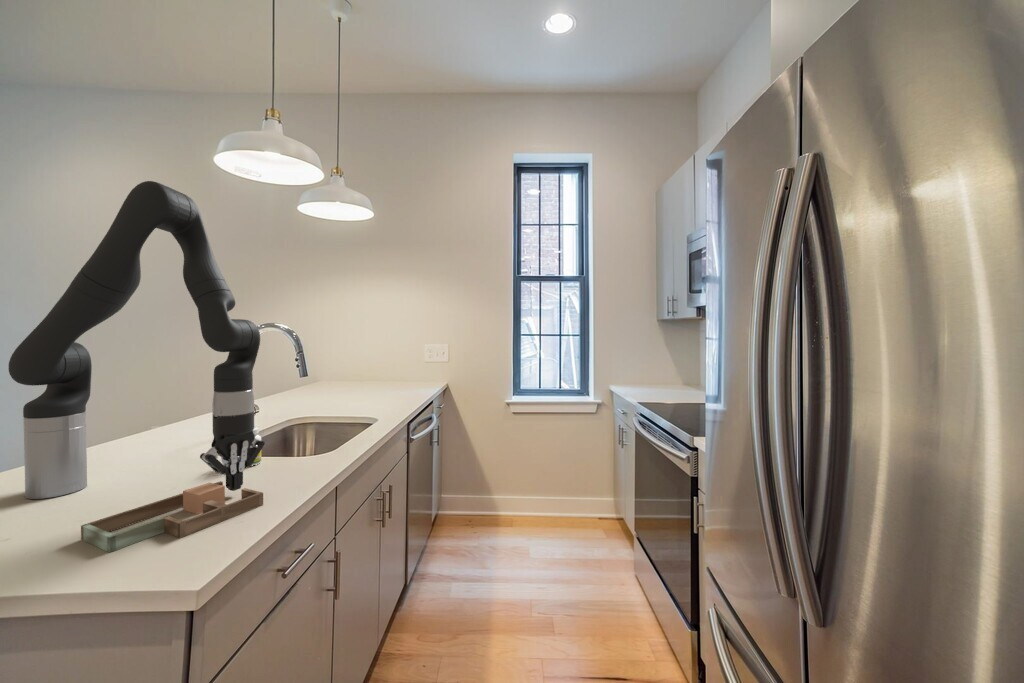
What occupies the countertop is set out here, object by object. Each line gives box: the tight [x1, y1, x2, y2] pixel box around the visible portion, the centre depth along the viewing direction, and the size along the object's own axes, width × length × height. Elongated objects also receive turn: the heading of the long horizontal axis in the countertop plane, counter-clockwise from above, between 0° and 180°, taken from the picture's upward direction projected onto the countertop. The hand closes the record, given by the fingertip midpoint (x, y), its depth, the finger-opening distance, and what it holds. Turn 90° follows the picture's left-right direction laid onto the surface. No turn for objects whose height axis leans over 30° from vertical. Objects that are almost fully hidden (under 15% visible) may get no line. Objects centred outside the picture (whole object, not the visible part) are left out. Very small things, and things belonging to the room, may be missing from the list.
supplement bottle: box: [251, 426, 262, 467], centre depth 110 cm, size 5×5×10 cm
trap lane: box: [80, 480, 264, 553], centre depth 78 cm, size 15×23×2 cm, turn 156°
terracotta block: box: [182, 482, 226, 515], centre depth 84 cm, size 5×5×4 cm
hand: (234, 489), depth 90 cm, fingers closed
